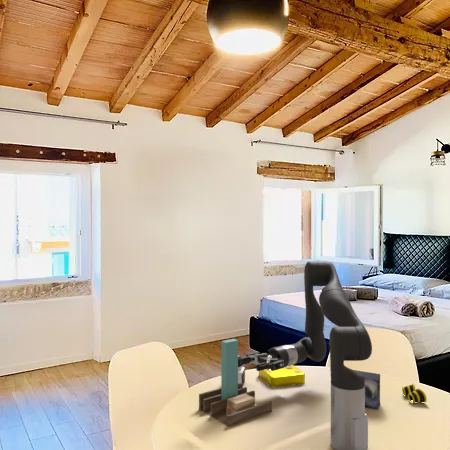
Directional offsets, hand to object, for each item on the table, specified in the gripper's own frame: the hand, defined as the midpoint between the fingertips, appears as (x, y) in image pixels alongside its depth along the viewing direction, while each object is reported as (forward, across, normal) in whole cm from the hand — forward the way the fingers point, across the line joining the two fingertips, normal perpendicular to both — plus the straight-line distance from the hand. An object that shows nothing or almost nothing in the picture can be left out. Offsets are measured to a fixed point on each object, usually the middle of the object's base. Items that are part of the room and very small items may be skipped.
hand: (248, 364), depth 151 cm
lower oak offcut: (+8, +6, +12) cm, 16 cm away
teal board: (+8, 0, +12) cm, 15 cm away
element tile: (-28, -12, +15) cm, 34 cm away
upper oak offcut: (+9, +6, +10) cm, 15 cm away
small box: (-33, +23, +14) cm, 42 cm away
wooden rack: (+8, +3, +14) cm, 17 cm away
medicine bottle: (-7, -16, +14) cm, 22 cm away
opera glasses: (-50, +31, +14) cm, 61 cm away
